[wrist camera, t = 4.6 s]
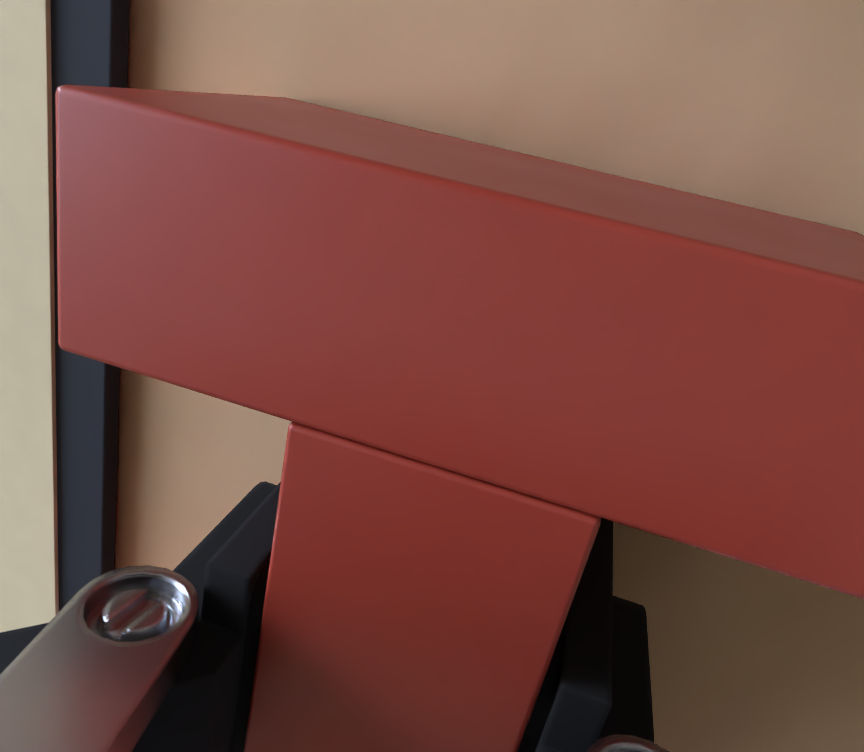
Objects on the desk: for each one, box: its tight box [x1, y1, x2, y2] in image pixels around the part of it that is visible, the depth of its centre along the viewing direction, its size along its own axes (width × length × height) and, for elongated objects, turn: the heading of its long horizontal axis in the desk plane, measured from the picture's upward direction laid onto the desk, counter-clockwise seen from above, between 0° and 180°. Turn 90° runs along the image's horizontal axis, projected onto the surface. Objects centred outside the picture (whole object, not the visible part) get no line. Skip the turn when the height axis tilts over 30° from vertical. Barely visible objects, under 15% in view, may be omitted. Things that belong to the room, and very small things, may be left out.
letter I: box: [55, 84, 864, 752], centre depth 10 cm, size 8×12×4 cm, turn 168°
